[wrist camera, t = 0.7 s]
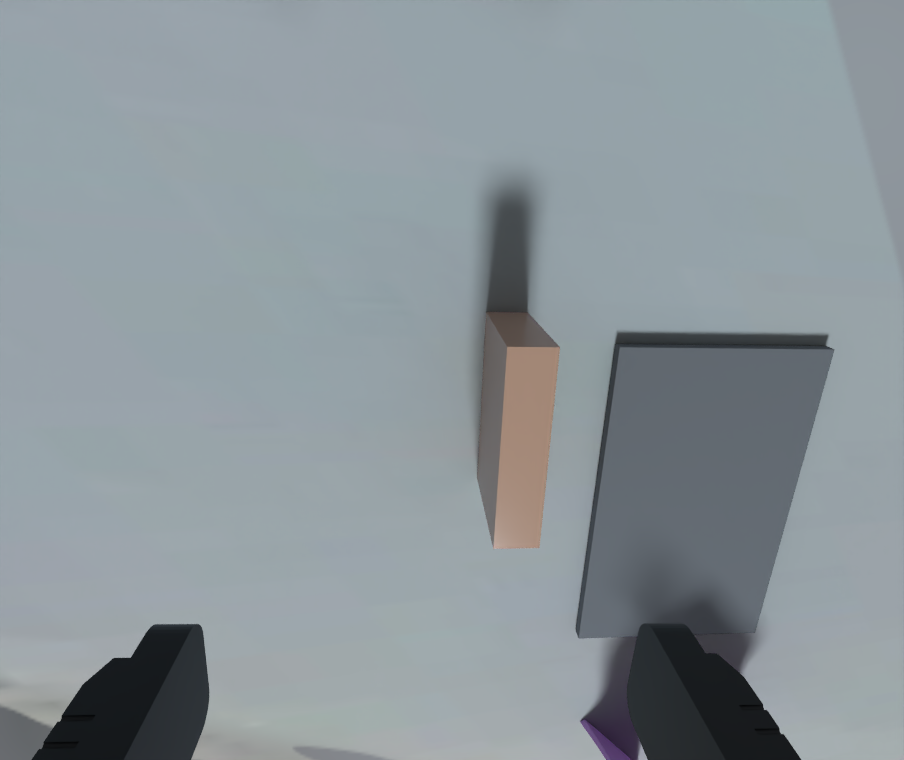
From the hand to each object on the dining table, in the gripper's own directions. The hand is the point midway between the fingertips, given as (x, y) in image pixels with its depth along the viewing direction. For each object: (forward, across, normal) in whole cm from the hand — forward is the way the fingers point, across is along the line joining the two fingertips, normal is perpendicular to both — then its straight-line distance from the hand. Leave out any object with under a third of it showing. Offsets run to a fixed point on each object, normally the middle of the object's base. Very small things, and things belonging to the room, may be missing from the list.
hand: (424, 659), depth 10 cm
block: (+18, -4, +1) cm, 18 cm away
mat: (+18, -15, +7) cm, 24 cm away
